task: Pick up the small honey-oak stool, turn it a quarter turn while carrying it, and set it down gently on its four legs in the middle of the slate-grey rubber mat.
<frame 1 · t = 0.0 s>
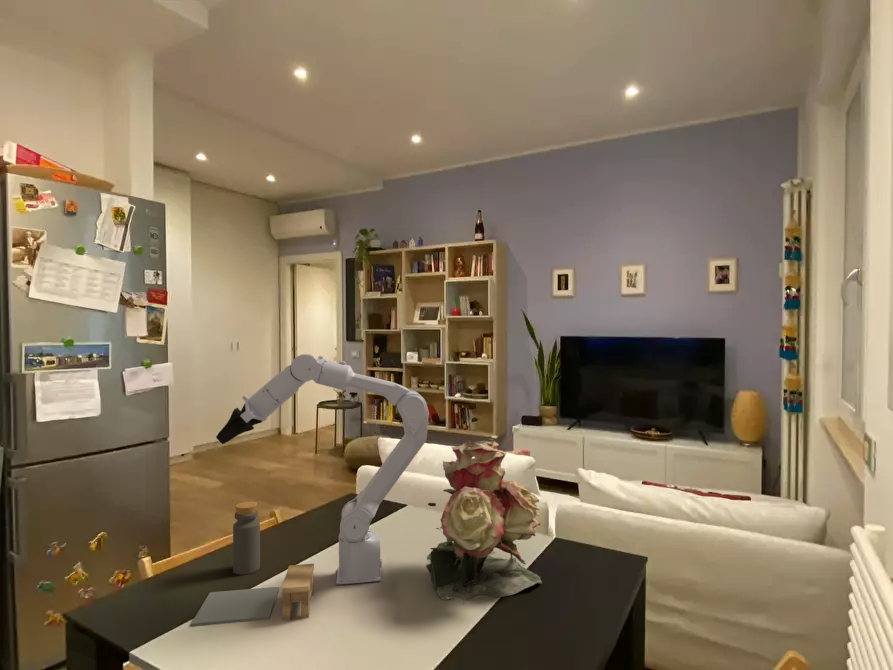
hand: (224, 437, 110), 32 cm above the table, tool tilted 50°, fingers open, 7 cm apart
bottle: (246, 570, 119), on the table
oak stool: (298, 605, 102), on the table
grey mat: (238, 605, 102), on the table
rose bouquet: (485, 574, 115), on the table
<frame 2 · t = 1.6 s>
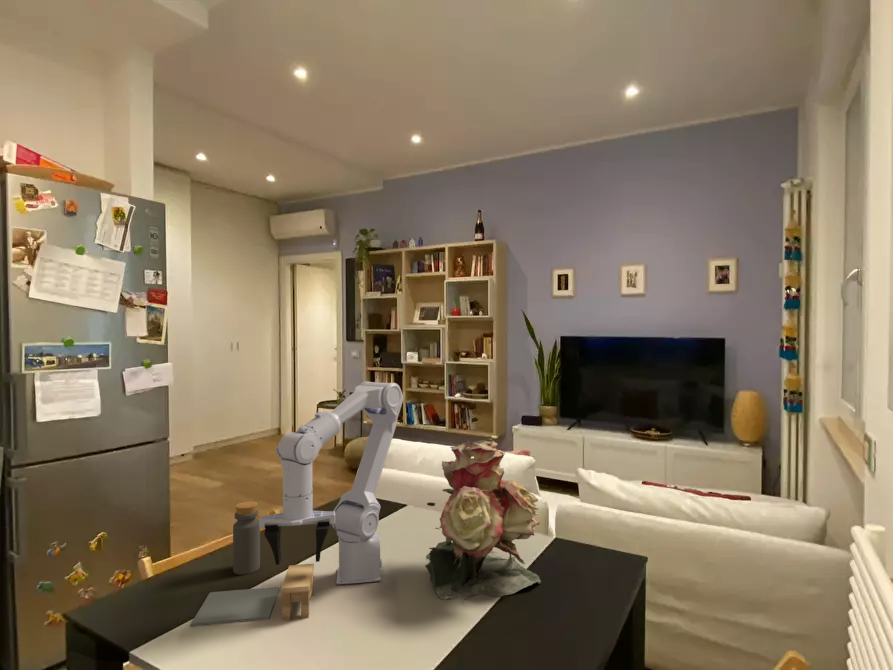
hand: (298, 561, 102), 9 cm above the table, tool pointing down, fingers open, 7 cm apart
nothing on the table moved.
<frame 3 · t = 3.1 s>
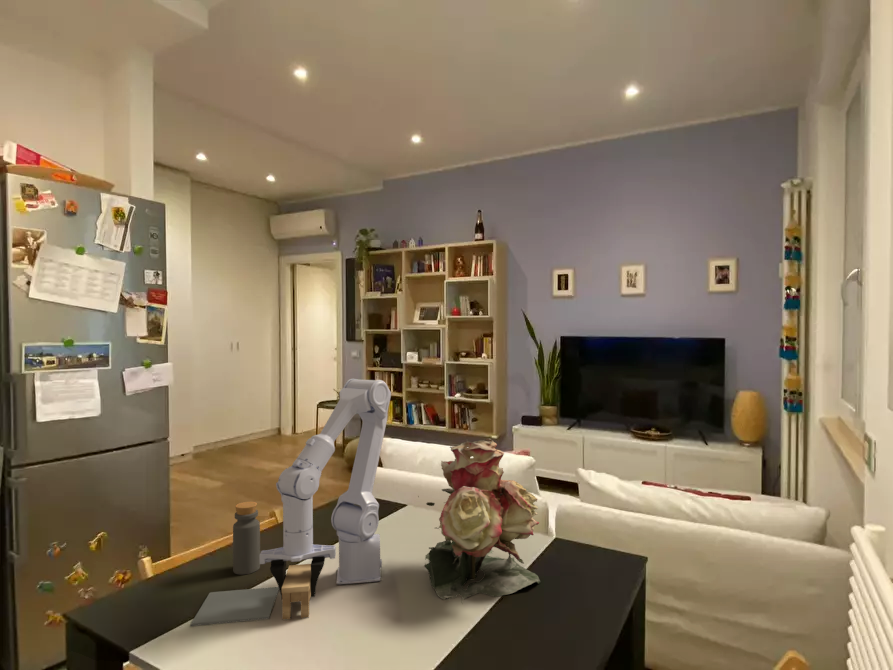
hand: (298, 595, 102), 2 cm above the table, tool pointing down, fingers closed on oak stool, 5 cm apart
oak stool: (298, 605, 102), on the table, touching gripper
everything else where it was.
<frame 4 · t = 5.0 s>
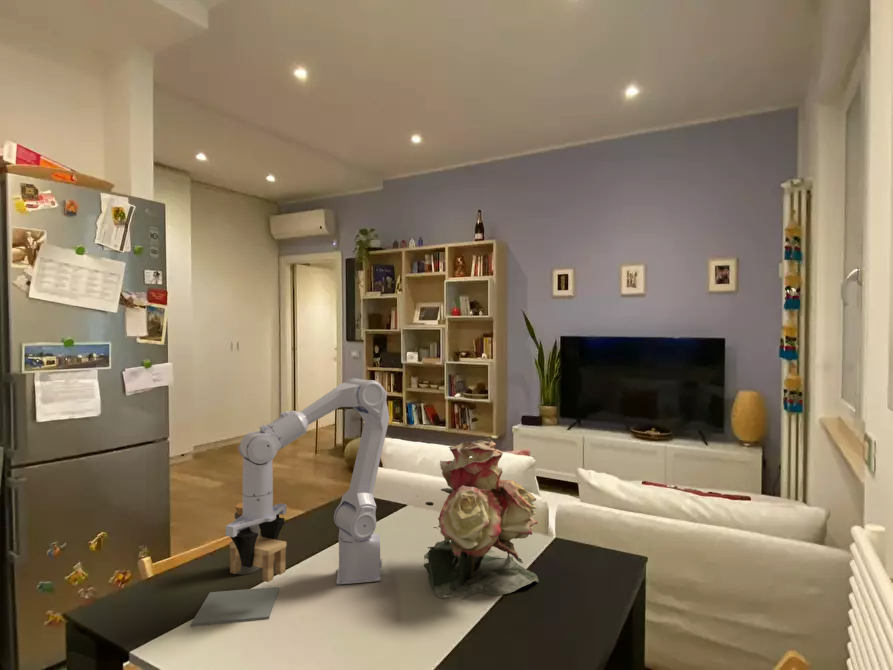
hand: (257, 560, 102), 9 cm above the table, tool pointing down, fingers closed on oak stool, 5 cm apart
oak stool: (257, 572, 102), point 7 cm above the table, touching gripper
everything else where it was.
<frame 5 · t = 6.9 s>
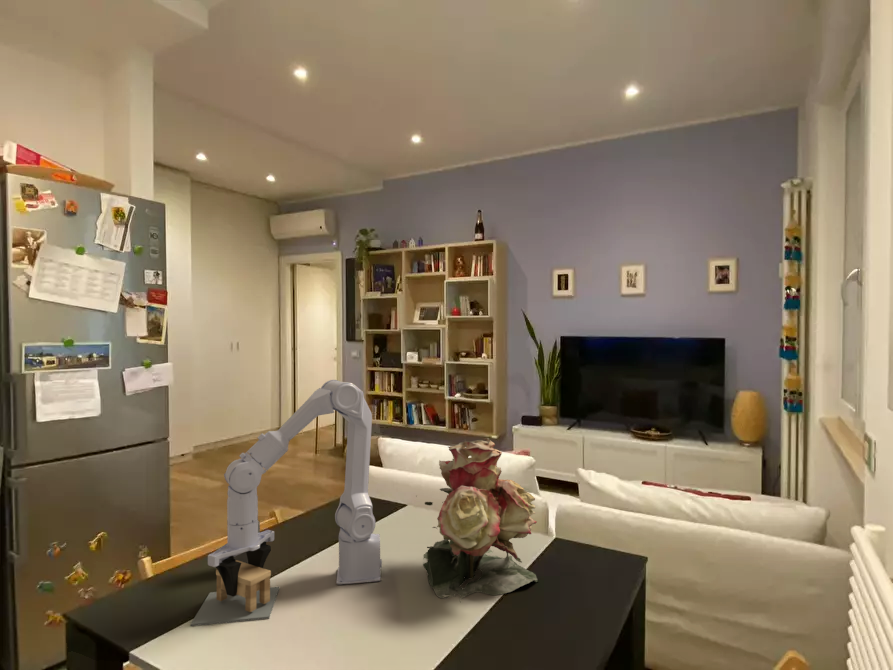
hand: (243, 588, 102), 3 cm above the table, tool pointing down, fingers closed on oak stool, 5 cm apart
oak stool: (243, 600, 102), point 1 cm above the table, touching gripper
when the fingers open (3 cm above the table, at t = 7.5 s): oak stool stays where it is, resting on grey mat.
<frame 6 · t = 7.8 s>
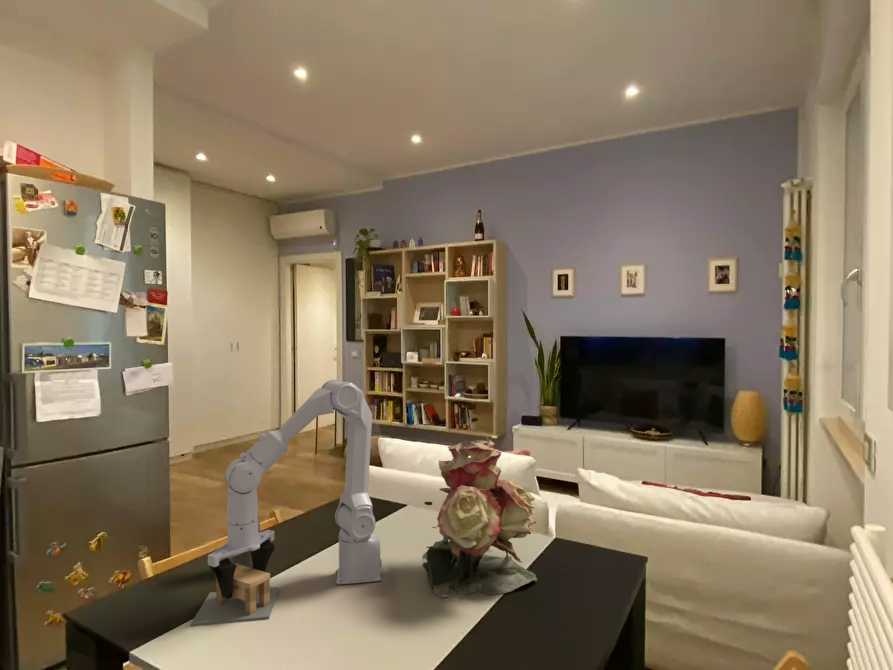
hand: (243, 588, 102), 3 cm above the table, tool pointing down, fingers open, 7 cm apart
oak stool: (243, 603, 102), resting on grey mat
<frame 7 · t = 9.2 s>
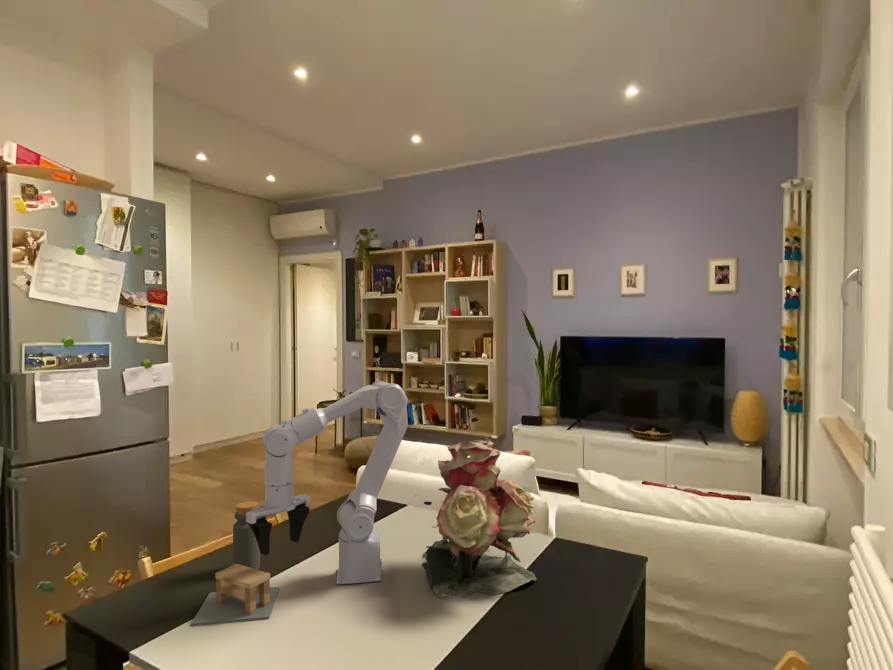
hand: (280, 547, 108), 9 cm above the table, tool pointing down, fingers open, 7 cm apart
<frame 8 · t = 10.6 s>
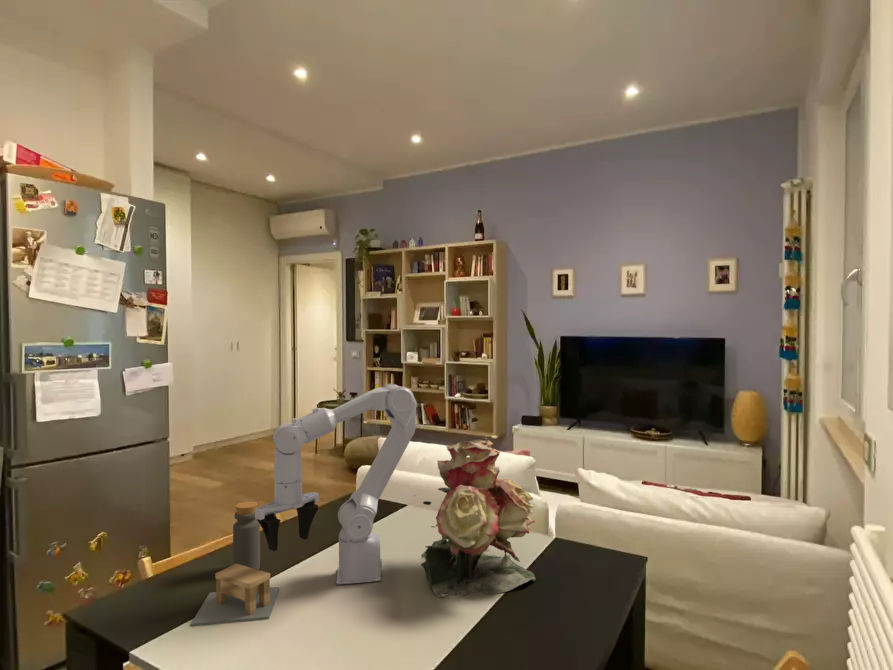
hand: (288, 543, 110), 9 cm above the table, tool pointing down, fingers open, 7 cm apart
at the end: oak stool 0.9 cm off-centre on the grey mat, point 0.4 cm above the grey mat's base; oak stool tilted 0°; the gripper is holding nothing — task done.
